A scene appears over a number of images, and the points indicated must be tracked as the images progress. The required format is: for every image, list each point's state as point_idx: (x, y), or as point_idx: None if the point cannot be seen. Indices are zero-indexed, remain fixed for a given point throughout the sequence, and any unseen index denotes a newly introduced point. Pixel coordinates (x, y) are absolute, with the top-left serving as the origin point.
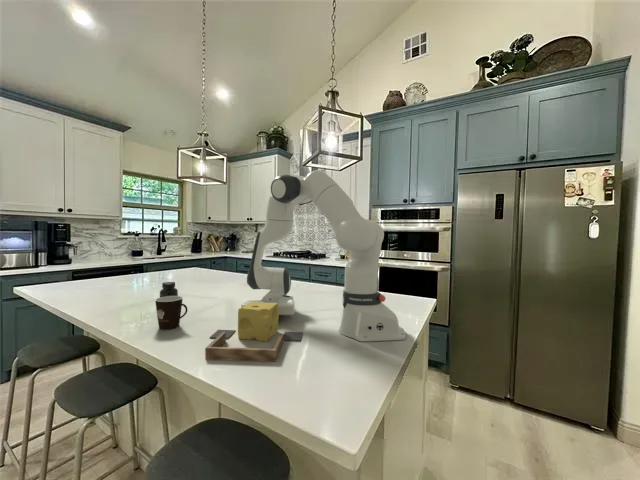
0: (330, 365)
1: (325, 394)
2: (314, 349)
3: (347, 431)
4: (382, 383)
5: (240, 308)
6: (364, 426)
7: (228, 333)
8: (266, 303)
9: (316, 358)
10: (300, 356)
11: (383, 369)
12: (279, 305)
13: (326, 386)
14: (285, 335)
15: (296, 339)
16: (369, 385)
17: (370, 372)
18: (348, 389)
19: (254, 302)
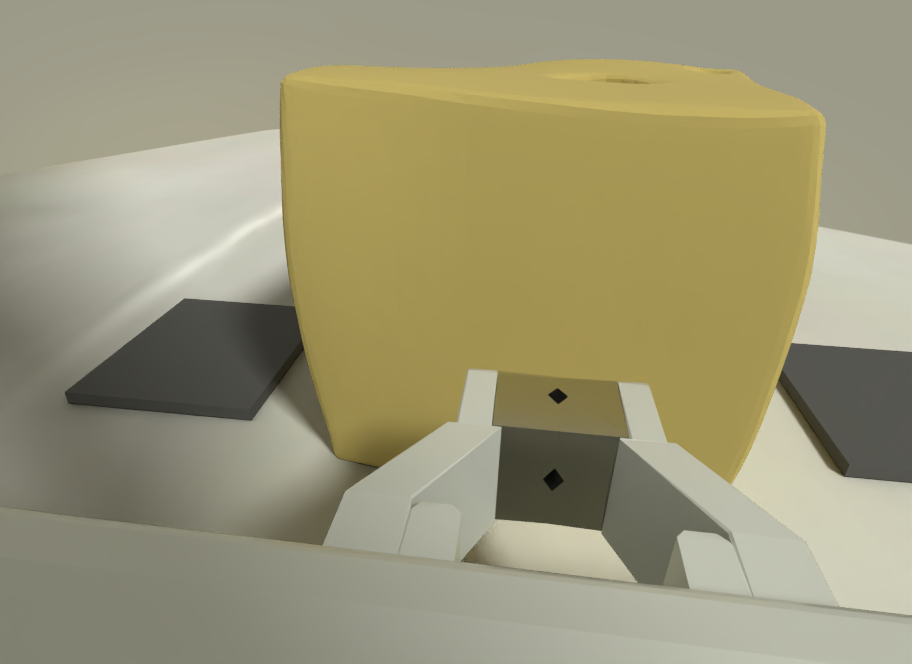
0: (173, 198)
1: (269, 158)
2: (156, 253)
3: (274, 134)
4: (87, 164)
5: (729, 71)
6: (239, 135)
7: (843, 401)
8: (477, 82)
9: (199, 218)
10: (264, 227)
11: (2, 184)
12: (69, 522)
13: (251, 166)
14: (272, 350)
15: (208, 304)
16: (131, 163)
17: (67, 180)
18: (200, 161)
19: (721, 101)
